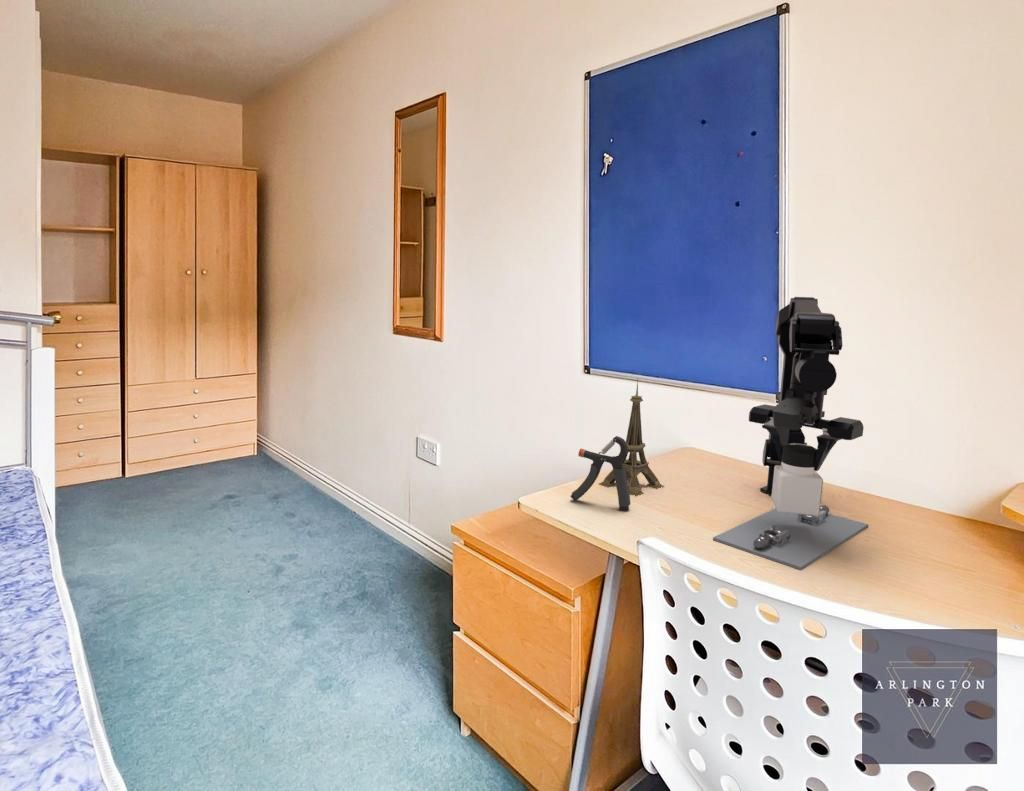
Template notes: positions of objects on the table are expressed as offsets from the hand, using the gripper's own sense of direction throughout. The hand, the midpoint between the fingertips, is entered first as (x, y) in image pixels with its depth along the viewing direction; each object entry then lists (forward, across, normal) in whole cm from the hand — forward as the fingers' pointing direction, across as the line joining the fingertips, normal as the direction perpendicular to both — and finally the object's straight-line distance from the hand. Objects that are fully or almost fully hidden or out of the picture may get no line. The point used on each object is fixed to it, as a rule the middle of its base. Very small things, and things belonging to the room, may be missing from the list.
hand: (798, 466), depth 120 cm
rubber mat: (+13, 0, 0) cm, 13 cm away
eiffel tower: (+13, -37, -1) cm, 39 cm away
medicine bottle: (+8, 0, 0) cm, 8 cm away
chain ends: (+13, 0, 0) cm, 13 cm away
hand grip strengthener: (+13, -33, -17) cm, 39 cm away
